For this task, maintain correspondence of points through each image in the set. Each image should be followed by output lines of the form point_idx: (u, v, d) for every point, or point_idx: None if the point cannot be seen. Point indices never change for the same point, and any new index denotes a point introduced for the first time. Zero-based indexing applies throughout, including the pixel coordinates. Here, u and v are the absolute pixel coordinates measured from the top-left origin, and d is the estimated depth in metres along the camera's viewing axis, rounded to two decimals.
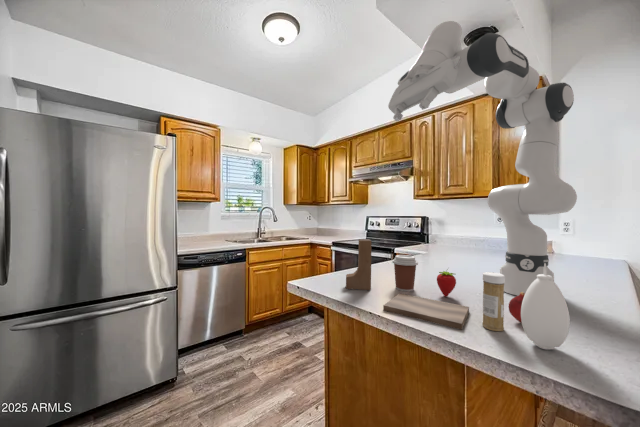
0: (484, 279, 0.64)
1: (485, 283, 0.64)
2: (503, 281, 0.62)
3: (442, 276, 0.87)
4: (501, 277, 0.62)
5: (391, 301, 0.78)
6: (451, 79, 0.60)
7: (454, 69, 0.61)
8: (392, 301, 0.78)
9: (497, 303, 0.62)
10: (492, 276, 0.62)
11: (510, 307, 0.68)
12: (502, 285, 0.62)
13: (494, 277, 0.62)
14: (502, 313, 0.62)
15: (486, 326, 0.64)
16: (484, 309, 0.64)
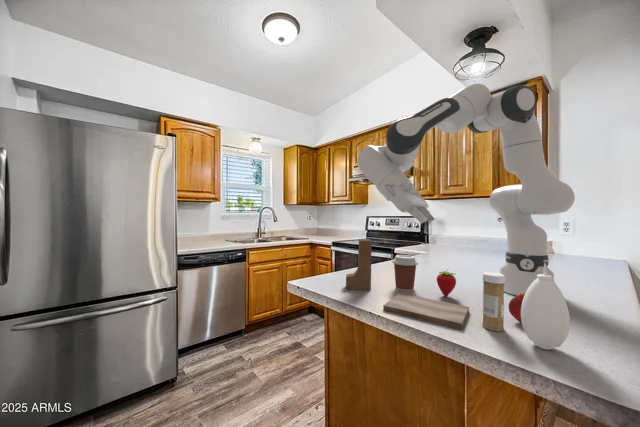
0: (484, 279, 0.64)
1: (485, 283, 0.64)
2: (503, 281, 0.62)
3: (442, 276, 0.87)
4: (501, 277, 0.62)
5: (391, 301, 0.78)
6: (403, 203, 0.67)
7: (395, 195, 0.69)
8: (392, 301, 0.78)
9: (497, 303, 0.62)
10: (492, 276, 0.62)
11: (510, 307, 0.68)
12: (502, 285, 0.62)
13: (494, 277, 0.62)
14: (502, 313, 0.62)
15: (486, 326, 0.64)
16: (484, 309, 0.64)
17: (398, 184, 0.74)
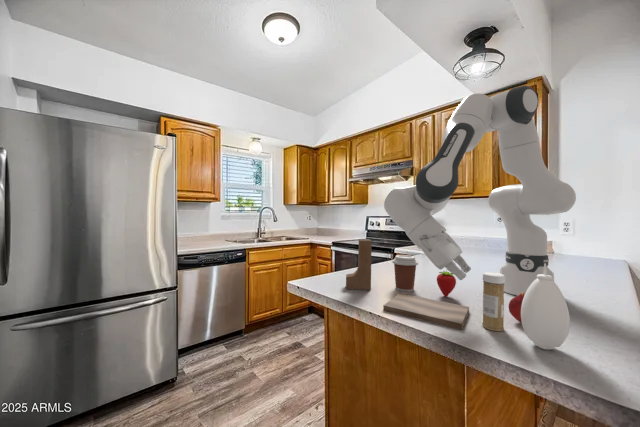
0: (484, 279, 0.64)
1: (485, 283, 0.64)
2: (503, 281, 0.62)
3: (442, 276, 0.87)
4: (501, 277, 0.62)
5: (391, 301, 0.78)
6: (442, 261, 0.62)
7: (432, 251, 0.63)
8: (392, 301, 0.78)
9: (497, 303, 0.62)
10: (492, 276, 0.62)
11: (510, 307, 0.68)
12: (502, 285, 0.62)
13: (494, 277, 0.62)
14: (502, 313, 0.62)
15: (486, 326, 0.64)
16: (484, 309, 0.64)
17: (432, 234, 0.69)
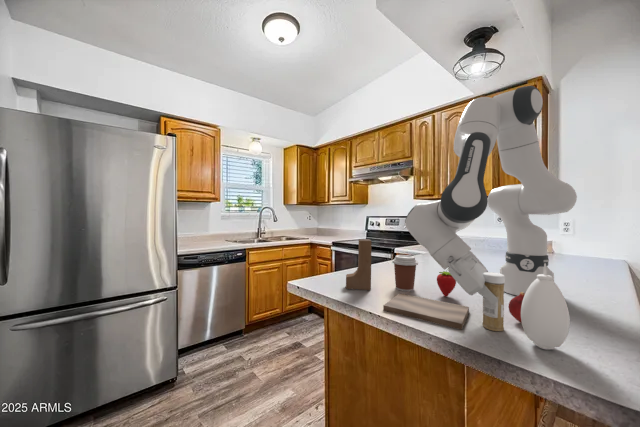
0: None
1: (485, 283, 0.64)
2: (503, 281, 0.62)
3: (442, 276, 0.87)
4: (501, 277, 0.62)
5: (391, 301, 0.78)
6: (473, 287, 0.58)
7: (461, 275, 0.60)
8: (392, 301, 0.78)
9: (497, 303, 0.62)
10: (492, 276, 0.62)
11: (510, 307, 0.68)
12: (502, 285, 0.62)
13: (494, 277, 0.62)
14: (502, 313, 0.62)
15: (486, 326, 0.64)
16: (484, 309, 0.64)
17: (459, 256, 0.65)
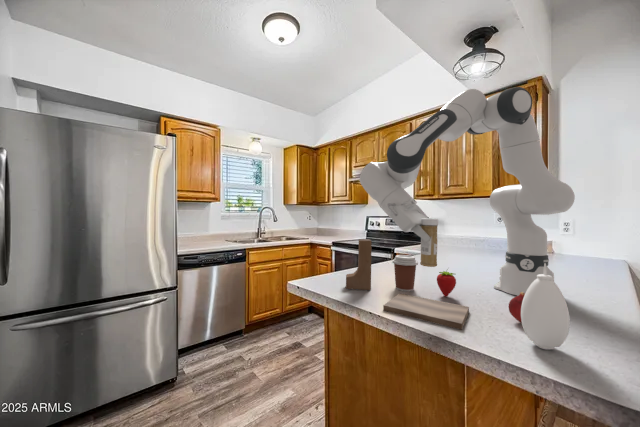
0: None
1: (422, 226, 0.74)
2: (436, 223, 0.72)
3: (442, 276, 0.87)
4: (434, 219, 0.72)
5: (391, 301, 0.78)
6: (406, 224, 0.68)
7: (398, 215, 0.69)
8: (392, 301, 0.78)
9: (431, 242, 0.72)
10: (427, 219, 0.72)
11: (510, 307, 0.68)
12: (435, 227, 0.72)
13: (428, 220, 0.72)
14: (435, 251, 0.72)
15: (422, 263, 0.73)
16: (421, 249, 0.74)
17: (400, 202, 0.75)
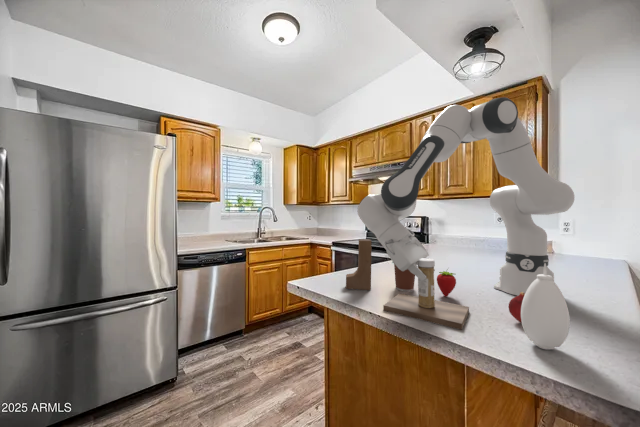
0: (418, 264, 0.74)
1: (418, 267, 0.74)
2: (432, 265, 0.72)
3: (442, 276, 0.87)
4: (430, 261, 0.72)
5: (391, 301, 0.78)
6: (403, 264, 0.68)
7: (395, 254, 0.70)
8: (392, 301, 0.78)
9: (427, 284, 0.72)
10: (423, 261, 0.73)
11: (510, 307, 0.68)
12: (431, 268, 0.72)
13: (424, 262, 0.72)
14: (432, 292, 0.72)
15: (420, 304, 0.74)
16: (418, 290, 0.74)
17: (398, 239, 0.75)
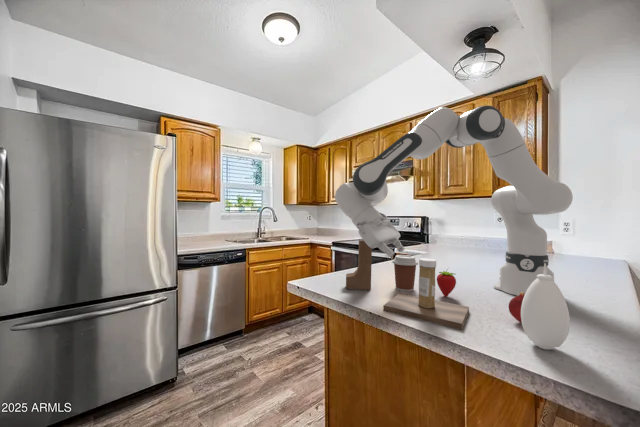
0: (419, 264, 0.74)
1: (420, 267, 0.74)
2: (434, 265, 0.72)
3: (442, 276, 0.87)
4: (432, 262, 0.72)
5: (391, 301, 0.78)
6: (372, 241, 0.76)
7: (365, 234, 0.78)
8: (392, 301, 0.78)
9: (428, 284, 0.72)
10: (425, 261, 0.73)
11: (510, 307, 0.68)
12: (433, 269, 0.72)
13: (426, 262, 0.72)
14: (433, 292, 0.72)
15: (420, 304, 0.74)
16: (419, 289, 0.74)
17: (369, 221, 0.83)
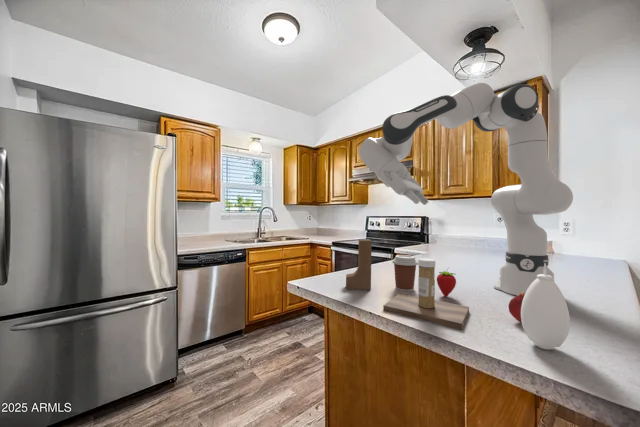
0: (418, 264, 0.74)
1: (419, 267, 0.74)
2: (433, 265, 0.72)
3: (442, 276, 0.87)
4: (431, 262, 0.72)
5: (391, 301, 0.78)
6: (400, 187, 0.77)
7: (392, 180, 0.78)
8: (392, 301, 0.78)
9: (428, 284, 0.72)
10: (424, 261, 0.73)
11: (510, 307, 0.68)
12: (432, 269, 0.72)
13: (425, 262, 0.72)
14: (432, 292, 0.72)
15: (420, 304, 0.74)
16: (419, 290, 0.74)
17: (395, 171, 0.84)
